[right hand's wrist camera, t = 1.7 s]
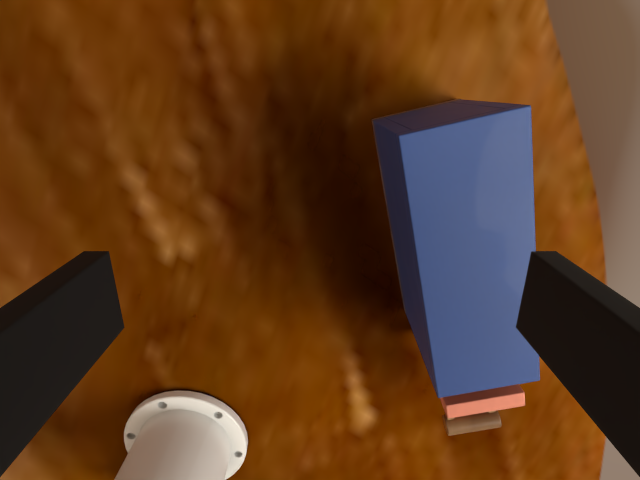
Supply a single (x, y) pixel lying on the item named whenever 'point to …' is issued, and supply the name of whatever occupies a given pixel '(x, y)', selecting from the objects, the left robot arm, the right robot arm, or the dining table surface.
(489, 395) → the drawer
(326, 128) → the dining table surface
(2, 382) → the right robot arm
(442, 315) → the cabinet
